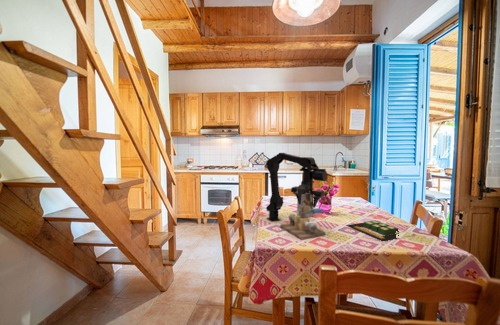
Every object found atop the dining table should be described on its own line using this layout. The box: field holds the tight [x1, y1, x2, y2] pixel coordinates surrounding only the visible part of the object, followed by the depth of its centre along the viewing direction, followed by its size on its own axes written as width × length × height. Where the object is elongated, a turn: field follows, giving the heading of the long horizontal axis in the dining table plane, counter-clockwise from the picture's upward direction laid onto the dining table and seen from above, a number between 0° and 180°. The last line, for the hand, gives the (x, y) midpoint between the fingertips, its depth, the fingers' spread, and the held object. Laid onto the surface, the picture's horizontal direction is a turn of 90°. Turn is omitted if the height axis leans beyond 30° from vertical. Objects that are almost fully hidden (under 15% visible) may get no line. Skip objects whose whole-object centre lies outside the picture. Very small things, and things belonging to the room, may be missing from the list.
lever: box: [299, 207, 323, 215], centre depth 130 cm, size 15×3×2 cm, turn 115°
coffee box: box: [296, 193, 314, 218], centre depth 156 cm, size 9×6×16 cm
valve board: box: [279, 213, 326, 241], centre depth 128 cm, size 20×16×9 cm
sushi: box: [345, 220, 399, 242], centre depth 131 cm, size 25×25×4 cm
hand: (306, 206), depth 132 cm, fingers open, 9 cm apart
